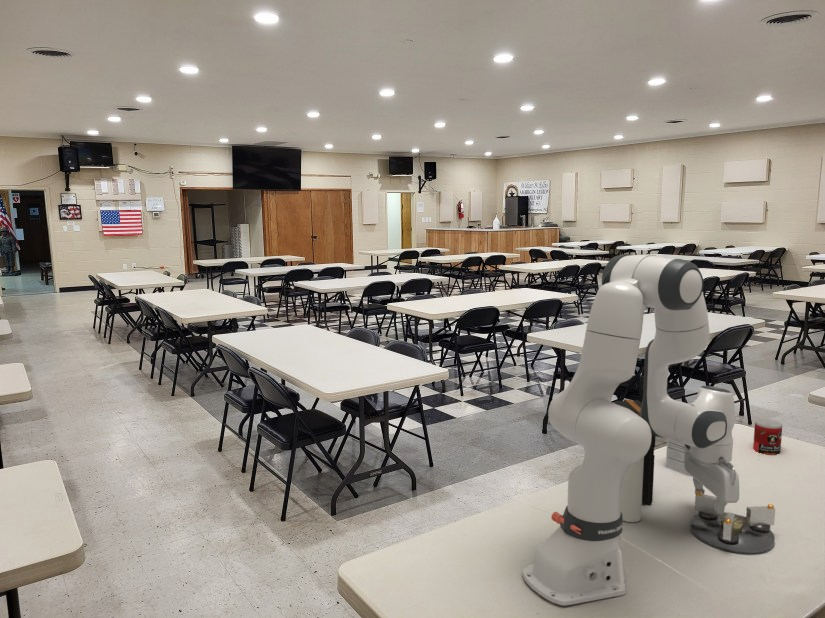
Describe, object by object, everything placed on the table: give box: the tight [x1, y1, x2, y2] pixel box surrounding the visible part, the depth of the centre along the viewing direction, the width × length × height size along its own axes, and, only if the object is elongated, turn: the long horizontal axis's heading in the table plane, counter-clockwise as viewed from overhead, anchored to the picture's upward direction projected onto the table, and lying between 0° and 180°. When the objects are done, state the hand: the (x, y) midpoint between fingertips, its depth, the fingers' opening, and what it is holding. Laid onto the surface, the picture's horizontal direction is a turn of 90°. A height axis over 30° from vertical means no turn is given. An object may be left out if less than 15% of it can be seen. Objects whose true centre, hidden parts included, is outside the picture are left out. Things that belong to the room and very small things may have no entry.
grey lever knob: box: [745, 503, 776, 533], centre depth 148 cm, size 6×4×6 cm
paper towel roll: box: [621, 457, 644, 523], centre depth 157 cm, size 7×6×21 cm
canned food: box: [752, 418, 783, 456], centre depth 199 cm, size 8×8×11 cm
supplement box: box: [665, 439, 693, 478], centre depth 187 cm, size 9×9×15 cm
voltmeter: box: [613, 399, 657, 506], centre depth 171 cm, size 16×9×25 cm, turn 178°
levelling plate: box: [689, 511, 775, 555], centre depth 149 cm, size 18×18×4 cm
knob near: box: [718, 511, 739, 544], centre depth 144 cm, size 6×4×6 cm
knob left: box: [694, 491, 722, 521], centre depth 155 cm, size 6×4×6 cm
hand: (708, 503), depth 155 cm, fingers open, 8 cm apart
